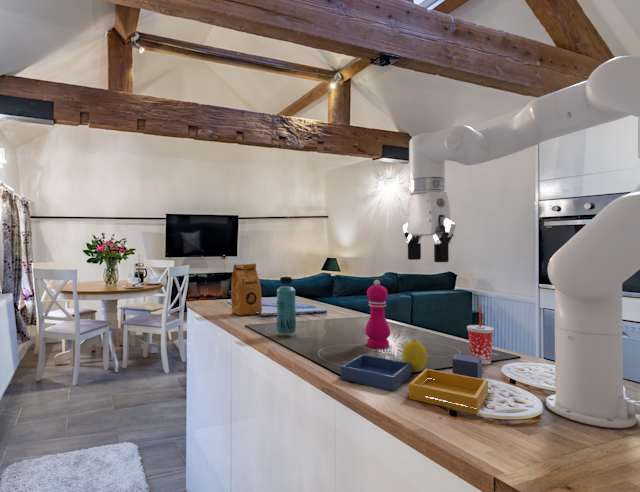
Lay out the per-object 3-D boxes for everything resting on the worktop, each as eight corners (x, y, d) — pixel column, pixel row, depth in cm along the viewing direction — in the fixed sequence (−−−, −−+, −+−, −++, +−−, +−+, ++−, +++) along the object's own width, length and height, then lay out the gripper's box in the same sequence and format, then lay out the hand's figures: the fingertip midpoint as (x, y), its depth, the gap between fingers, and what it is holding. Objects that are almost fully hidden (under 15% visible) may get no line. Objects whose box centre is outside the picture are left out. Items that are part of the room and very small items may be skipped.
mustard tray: (488, 394, 84) (487, 380, 84) (477, 414, 75) (476, 398, 75) (426, 381, 92) (425, 368, 92) (409, 398, 83) (408, 383, 83)
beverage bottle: (282, 332, 141) (282, 275, 141) (299, 335, 137) (299, 276, 137) (273, 336, 136) (272, 277, 136) (290, 339, 132) (289, 278, 132)
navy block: (481, 379, 93) (481, 357, 93) (477, 385, 89) (477, 362, 89) (457, 374, 96) (457, 353, 96) (452, 380, 93) (452, 358, 93)
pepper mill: (364, 347, 120) (363, 280, 121) (366, 341, 127) (365, 278, 127) (390, 350, 118) (389, 281, 118) (390, 343, 124) (389, 279, 125)
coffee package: (264, 315, 173) (263, 263, 173) (237, 317, 169) (236, 264, 169) (255, 311, 183) (254, 262, 183) (229, 313, 178) (228, 263, 178)
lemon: (429, 376, 95) (429, 343, 95) (405, 375, 96) (404, 342, 96) (424, 369, 101) (423, 337, 101) (400, 368, 102) (400, 336, 102)
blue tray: (411, 375, 96) (411, 363, 96) (393, 391, 87) (393, 377, 87) (362, 365, 104) (362, 354, 104) (340, 379, 95) (340, 366, 95)
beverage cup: (489, 367, 102) (489, 311, 102) (463, 361, 106) (462, 308, 106) (497, 361, 106) (497, 308, 106) (472, 356, 110) (471, 305, 110)
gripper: (468, 183, 87) (468, 263, 87) (418, 191, 104) (418, 258, 104) (437, 182, 85) (437, 263, 85) (391, 191, 102) (391, 259, 102)
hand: (427, 260), depth 95 cm, fingers open, 9 cm apart
